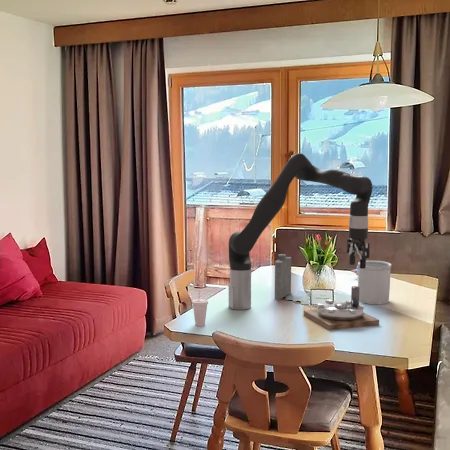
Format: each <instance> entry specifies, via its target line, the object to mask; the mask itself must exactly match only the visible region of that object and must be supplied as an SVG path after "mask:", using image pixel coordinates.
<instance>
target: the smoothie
mask: <svg viewBox="0 0 450 450" xmlns="http://www.w3.org/2000/svg"><path fill="white" fill-rule="evenodd" d="M197 293H198V294H197V295H198V297H197V298H196V299H193V300H191V304H192V309H193V316H194V322H195V323H194V324H195V326H197V327H203V326H206V317H207V311H208V304H209V300H207V299H204V298H200V297H201V295H200V293H201V290H200V289H198V290H197Z"/></svg>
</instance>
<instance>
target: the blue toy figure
mask: <svg viewBox="0 0 450 450" xmlns="http://www.w3.org/2000/svg"><path fill="white" fill-rule="evenodd" d="M350 272H352V273H353V274H355V275H356V276H358V265H357V266H356V269H351V270H350Z"/></svg>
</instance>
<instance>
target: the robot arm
mask: <svg viewBox="0 0 450 450" xmlns="http://www.w3.org/2000/svg"><path fill="white" fill-rule="evenodd" d="M294 178H296V179H298V180H300V181H304V182H311V183H312V182H313V183H320V184H322V185H323V184H325V185H328V186H331V187H333V188H336V189H340V190H343V191H344V192H345V193H348V194H351V195H354V196H355V199H354V200H353V201H351V203H350V208H349V221H348V238H347V240H346V241H347V242H346V253H347V254H348V256H349V265H350V266H354V265H356V254H357V255H359V256H358V257H359V262H360V268H361V269H364V268H366V261H367V259H370V243H369V242H366V240H367V239H368V237H369V204H370V200H371V196H372V193H373V183H372V181H371V178H369V177H366V176H352V175H351V174H350V173H348V172H345V171H342V170H339V169H335V168H328V169H321V168H318V167H316V166H315V165H313V164H312V163H311V161H310V160H309V159H308V158H307V157H306V155H305V154H304V153H301V152H298V153H295V154H294V155H291V157H290V158H289V159H288V160H287V162H286V163H285V165H284V167H283V168H282V170H281V172H280V173H279V175H278V176H277V178H276V179H275V181H274V182H273V183H272V184H271V186H270V188H269V189H268V190H267V191H266V193H265V194H264V195H263V197H262V198H261V199H260V200H259V201H258V204H257V206H256V207H255V209H254V211H253V214H252V216H251V218H250V220H249V222H248V223H247V224H246V226H245V227H244V228H243V229H242V230H241V231H235V232H233V233H232V234H231V235H230V236H229V240H228V263H229V285H228V307H229V308H230V309H231V310H238V311H239V310H240V311H242V310H243V311H244V310H250V309H251V308H252V263H251V257H250V252H251V251H252V249H253V248H254V247H255V245H256V243H257V241H258V239H259V238H260V237H261V235H262V233H263V232H264V231H265V229H266V228H267V227H268V226H269V224H271V222H272V221H273V219H274V218H275V217H276V216H277V214H279V212H280V211H281V209H282V208H283V206H284V205H285V202H286V199H287V194H288V191H289V187H290V185H291V183H292V182H293V180H294Z"/></svg>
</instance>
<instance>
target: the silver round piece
mask: <svg viewBox="0 0 450 450" xmlns="http://www.w3.org/2000/svg"><path fill="white" fill-rule="evenodd" d="M359 290H360V287H358V285H352V286H351V294H350V295H351V296H350V297H351V299H350V300H349V299H348V300H346V301H334V300H332V299H326V300H325V302H323V303H317V309H318V314H319V315H320V316H321V317H324V318H327V319H333V320H356V319H360V318H362V317H363V312H364V310H365V305H364V304H360V301H359Z"/></svg>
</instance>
